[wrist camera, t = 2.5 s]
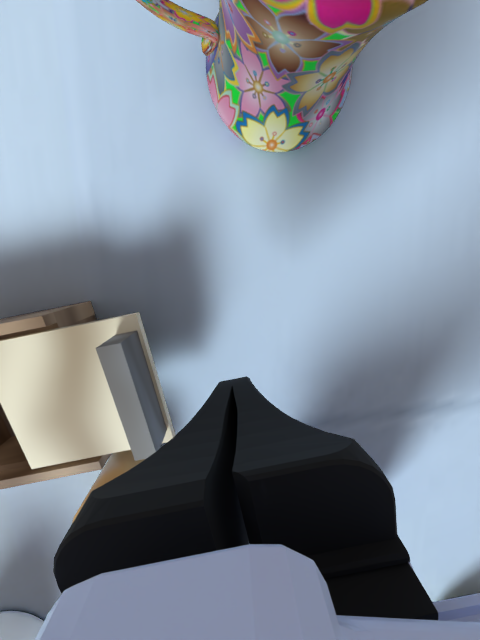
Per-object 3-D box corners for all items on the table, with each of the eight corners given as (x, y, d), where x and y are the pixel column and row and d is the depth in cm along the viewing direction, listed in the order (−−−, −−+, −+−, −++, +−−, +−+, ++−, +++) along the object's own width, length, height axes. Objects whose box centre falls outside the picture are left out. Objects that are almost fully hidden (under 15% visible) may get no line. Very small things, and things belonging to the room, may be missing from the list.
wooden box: (90, 300, 18) (41, 315, 13) (131, 420, 21) (101, 469, 16) (-46, 328, 18) (-143, 352, 14) (10, 444, 21) (-56, 500, 16)
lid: (139, 311, 14) (118, 323, 12) (175, 435, 16) (165, 469, 14) (-18, 343, 14) (-74, 362, 12) (37, 462, 16) (0, 502, 14)
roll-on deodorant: (154, 440, 21) (131, 495, 16) (168, 484, 22) (151, 548, 17) (100, 450, 21) (60, 509, 16) (116, 494, 22) (84, 562, 17)
